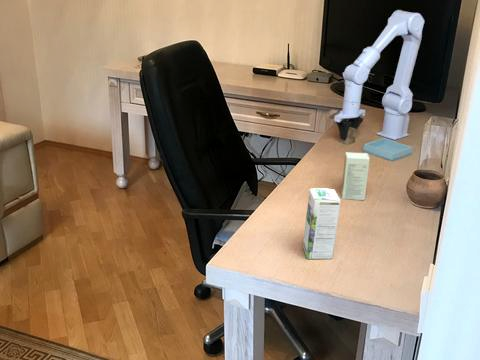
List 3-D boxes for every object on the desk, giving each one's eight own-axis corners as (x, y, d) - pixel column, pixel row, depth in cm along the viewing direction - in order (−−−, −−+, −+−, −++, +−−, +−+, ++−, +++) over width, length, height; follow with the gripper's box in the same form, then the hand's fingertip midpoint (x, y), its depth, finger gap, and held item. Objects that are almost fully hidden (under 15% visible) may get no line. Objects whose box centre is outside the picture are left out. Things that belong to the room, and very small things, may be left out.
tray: (383, 144, 186) (384, 137, 185) (411, 154, 178) (413, 147, 177) (362, 151, 178) (363, 144, 177) (391, 161, 171) (393, 154, 170)
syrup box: (301, 246, 119) (307, 187, 113) (327, 246, 120) (334, 187, 114) (306, 259, 114) (313, 199, 108) (333, 259, 114) (341, 199, 109)
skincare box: (363, 194, 146) (369, 153, 141) (364, 200, 142) (371, 158, 137) (339, 192, 147) (345, 151, 142) (340, 199, 143) (346, 156, 138)
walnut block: (345, 139, 189) (347, 126, 187) (354, 142, 186) (356, 129, 184) (338, 141, 187) (340, 127, 185) (347, 144, 184) (349, 131, 182)
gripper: (355, 95, 188) (351, 131, 193) (329, 100, 179) (324, 138, 184) (372, 99, 183) (366, 136, 188) (345, 105, 174) (340, 144, 179)
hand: (347, 138), depth 186 cm, fingers closed on walnut block, 4 cm apart
